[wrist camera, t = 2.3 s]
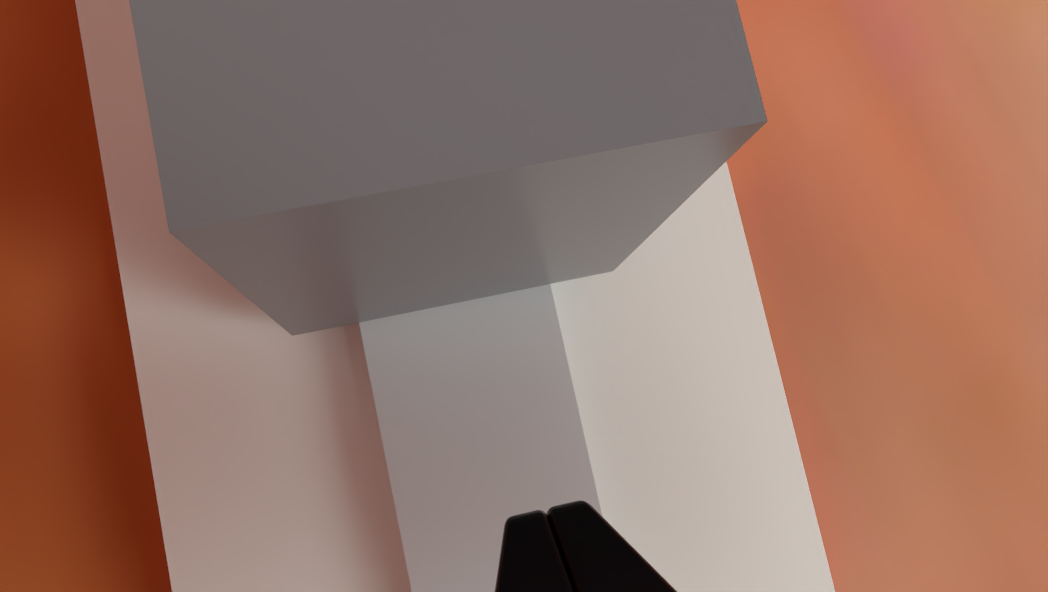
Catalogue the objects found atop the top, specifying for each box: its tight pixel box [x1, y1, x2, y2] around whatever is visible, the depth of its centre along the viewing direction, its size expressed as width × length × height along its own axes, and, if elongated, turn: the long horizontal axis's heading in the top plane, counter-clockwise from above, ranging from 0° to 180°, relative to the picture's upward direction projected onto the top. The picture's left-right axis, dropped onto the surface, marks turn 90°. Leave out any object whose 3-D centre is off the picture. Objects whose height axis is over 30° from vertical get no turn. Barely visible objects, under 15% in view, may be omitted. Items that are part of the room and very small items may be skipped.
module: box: [129, 0, 767, 336], centre depth 14 cm, size 5×6×8 cm
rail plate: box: [75, 0, 835, 592], centre depth 19 cm, size 20×12×3 cm, turn 12°
